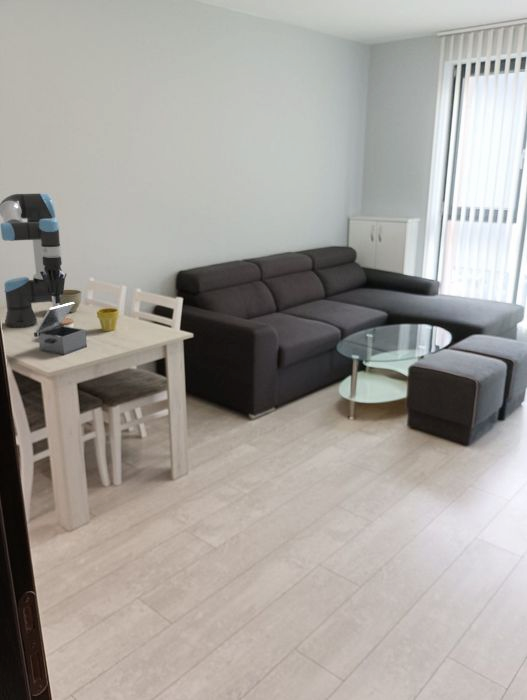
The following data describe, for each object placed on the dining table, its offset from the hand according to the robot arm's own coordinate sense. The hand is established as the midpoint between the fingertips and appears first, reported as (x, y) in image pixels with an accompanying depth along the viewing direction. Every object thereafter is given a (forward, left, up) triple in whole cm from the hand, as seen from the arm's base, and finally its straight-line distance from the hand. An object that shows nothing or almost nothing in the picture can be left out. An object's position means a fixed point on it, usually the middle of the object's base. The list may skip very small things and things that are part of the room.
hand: (56, 310), depth 251 cm
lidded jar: (-13, +15, -18) cm, 27 cm away
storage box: (+2, 0, -17) cm, 18 cm away
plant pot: (-2, +35, -18) cm, 39 cm away
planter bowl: (-47, +54, -18) cm, 74 cm away
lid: (-1, 0, -4) cm, 4 cm away
